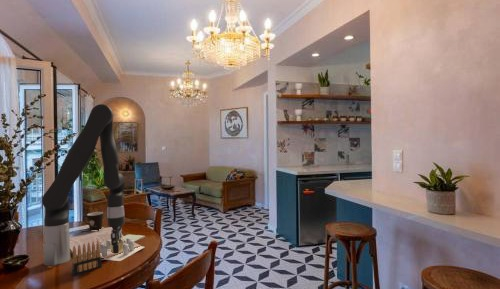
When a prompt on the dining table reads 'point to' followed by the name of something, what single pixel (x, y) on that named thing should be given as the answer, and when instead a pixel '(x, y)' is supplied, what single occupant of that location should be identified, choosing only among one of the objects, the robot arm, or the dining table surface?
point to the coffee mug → (94, 220)
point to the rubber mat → (133, 237)
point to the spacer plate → (123, 255)
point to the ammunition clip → (86, 259)
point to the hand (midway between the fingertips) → (117, 250)
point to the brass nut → (118, 246)
